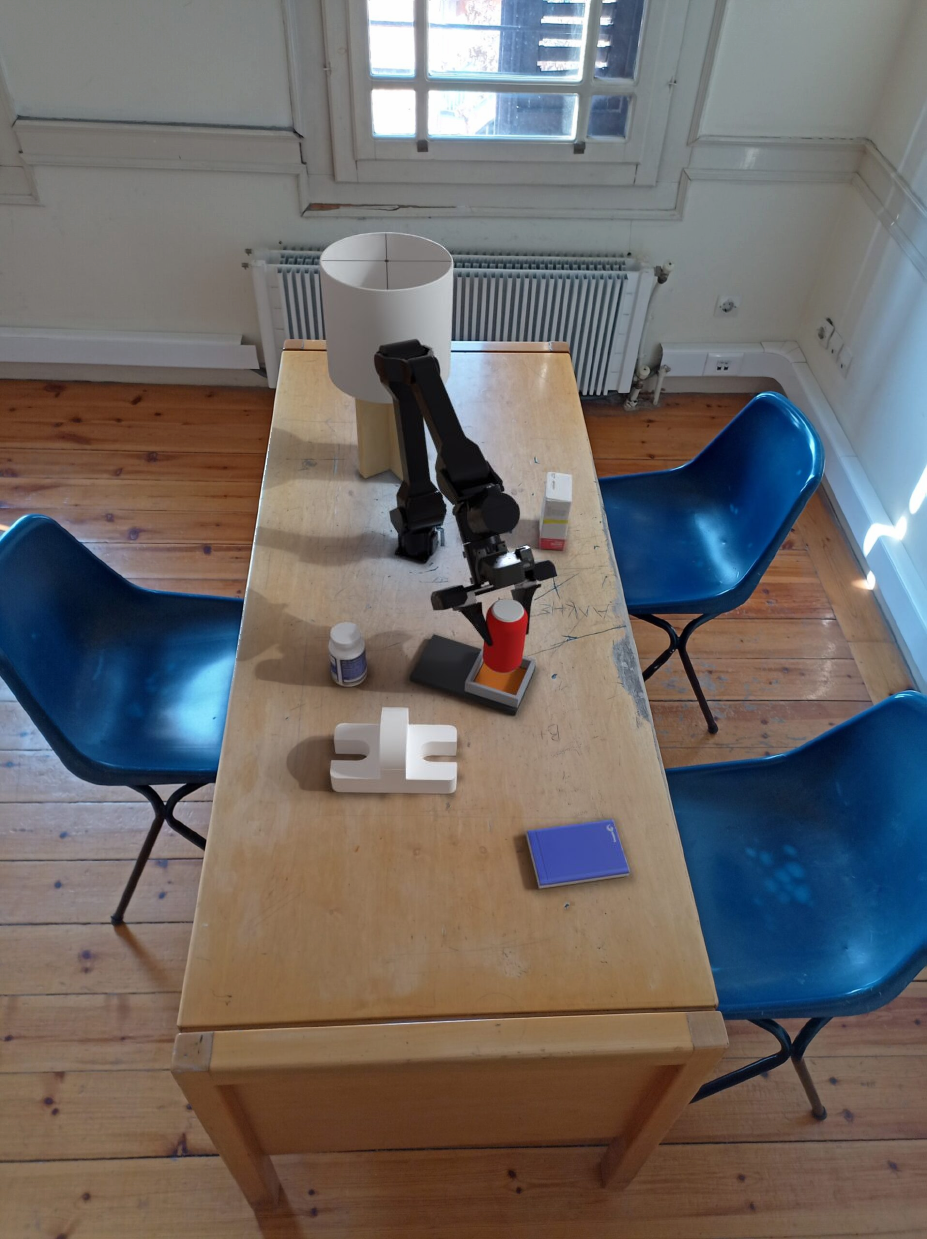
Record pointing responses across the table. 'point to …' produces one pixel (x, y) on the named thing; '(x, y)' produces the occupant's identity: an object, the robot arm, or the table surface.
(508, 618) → the beverage can
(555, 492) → the ink box
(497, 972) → the table surface
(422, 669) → the black tray with frame
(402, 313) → the lamp
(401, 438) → the robot arm
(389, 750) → the white slotted fin bracket
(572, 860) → the hard drive
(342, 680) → the pill bottle
